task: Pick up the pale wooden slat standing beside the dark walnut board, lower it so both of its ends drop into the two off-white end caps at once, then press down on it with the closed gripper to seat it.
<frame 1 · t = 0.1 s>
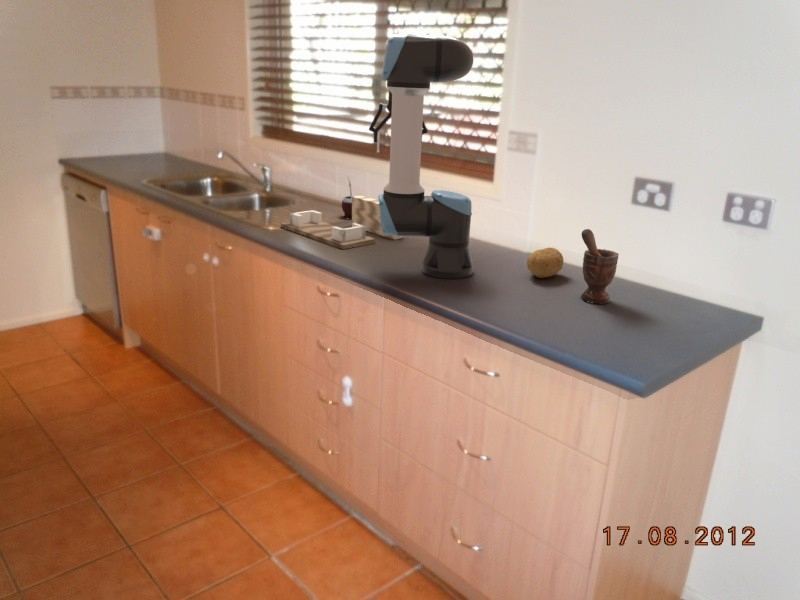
hand: (397, 153, 233), 28 cm above the worktop, tool pointing down, fingers open, 13 cm apart
mortar and pestle: (591, 302, 177), on the worktop
slat: (376, 232, 240), on the worktop
potato: (542, 277, 196), on the worktop
walnut board: (326, 235, 232), on the worktop
mate gourd: (350, 218, 259), on the worktop
end caps: (326, 225, 231), on the walnut board, point 4 cm above the worktop
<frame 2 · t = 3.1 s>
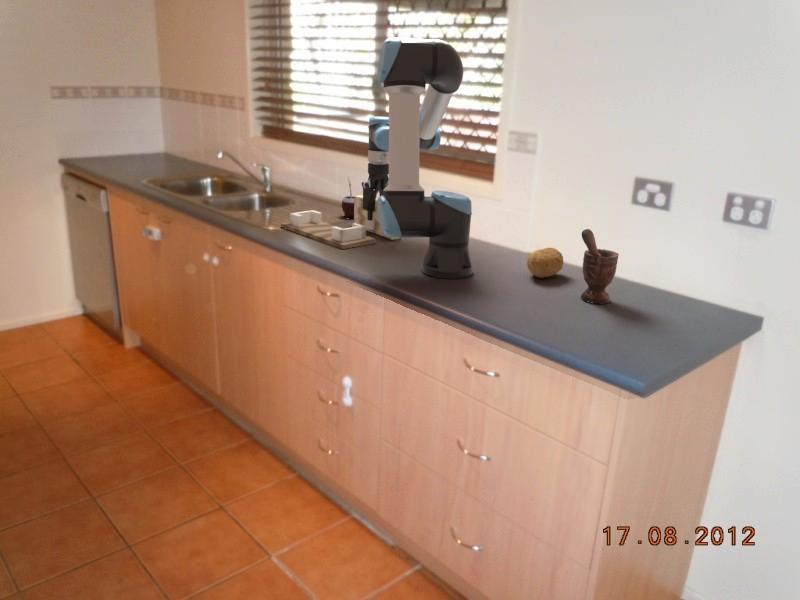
hand: (376, 228, 239), 1 cm above the worktop, tool pointing down, fingers closed on slat, 4 cm apart
slat: (376, 231, 240), on the worktop, touching gripper
everything else where it was.
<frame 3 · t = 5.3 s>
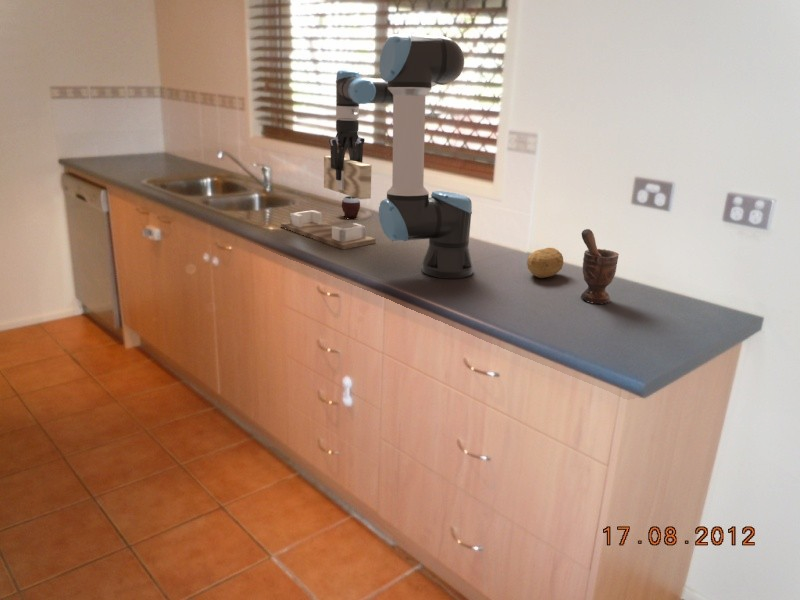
hand: (346, 188, 230), 16 cm above the worktop, tool pointing down, fingers closed on slat, 4 cm apart
slat: (346, 192, 230), point 15 cm above the worktop, touching gripper
everything else where it was.
when the fingers open (4 cm above the worktop, at t = 7.9 s): slat drops 1 cm, resting on walnut board.
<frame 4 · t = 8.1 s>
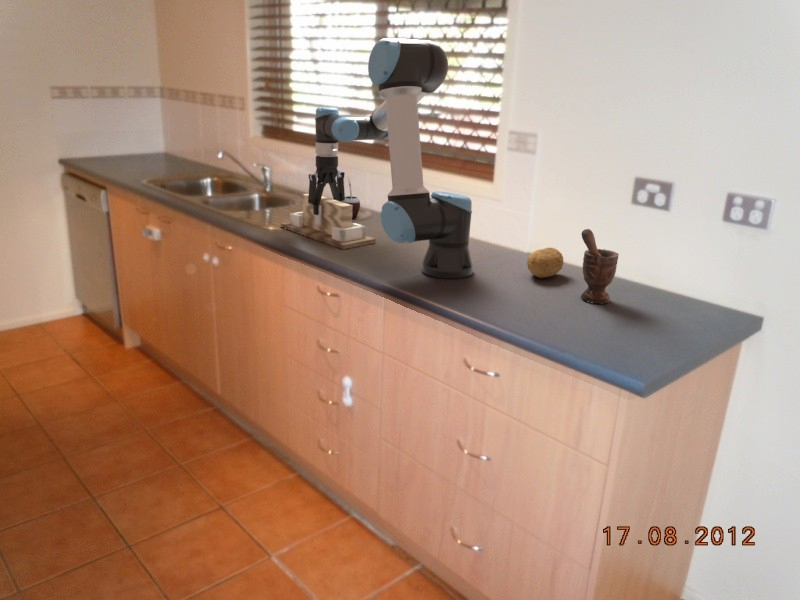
hand: (326, 222, 230), 4 cm above the worktop, tool pointing down, fingers open, 7 cm apart
slat: (326, 230, 231), point 1 cm above the worktop, touching walnut board
everything else where it was.
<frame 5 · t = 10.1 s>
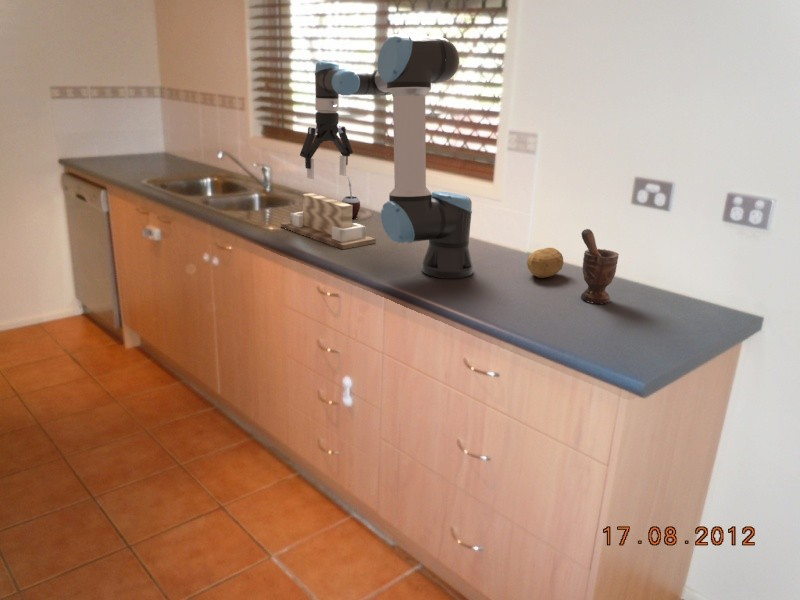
hand: (326, 176, 225), 20 cm above the worktop, tool pointing down, fingers open, 13 cm apart
nothing on the worktop moved.
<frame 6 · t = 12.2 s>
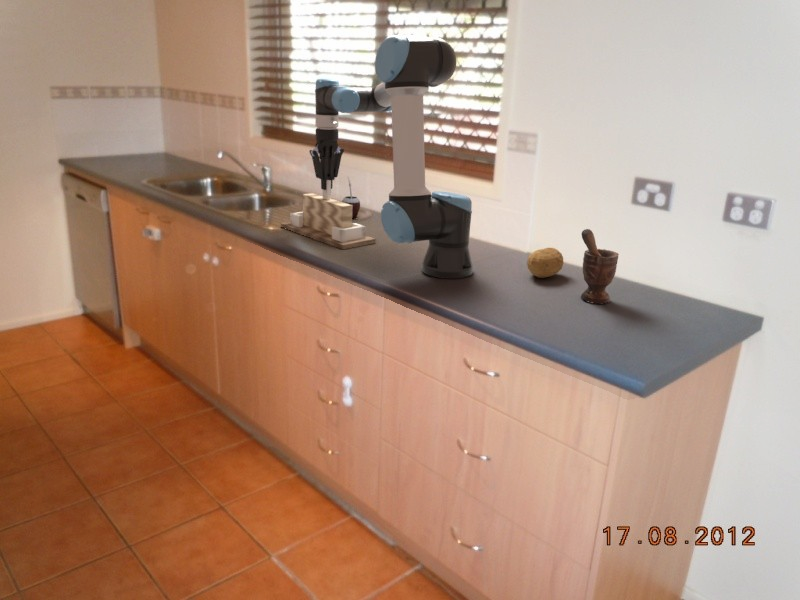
hand: (326, 198, 228), 13 cm above the worktop, tool pointing down, fingers closed
slat: (326, 230, 231), point 1 cm above the worktop, touching gripper, walnut board
everything else where it was.
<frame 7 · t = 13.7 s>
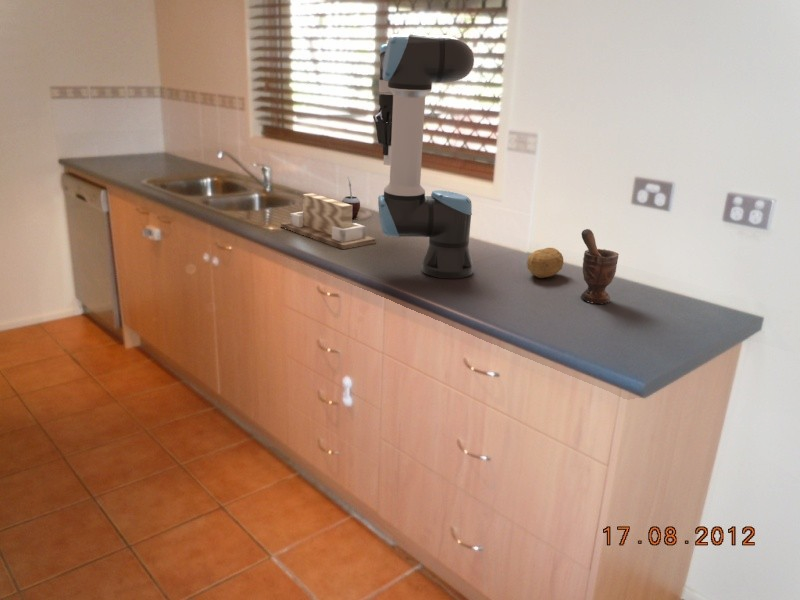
hand: (387, 164, 231), 24 cm above the worktop, tool pointing down, fingers closed
slat: (326, 230, 231), point 1 cm above the worktop, touching walnut board
everything else where it was.
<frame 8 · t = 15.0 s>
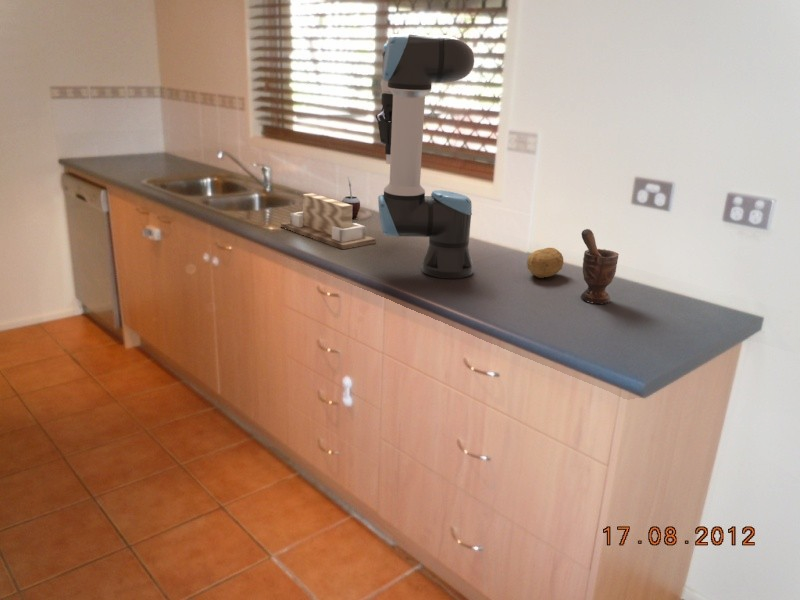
hand: (390, 163, 231), 24 cm above the worktop, tool pointing down, fingers closed
nothing on the worktop moved.
at the end: slat 0.1 cm off-centre on the end caps, point 1.5 cm above the end caps's base; slat tilted 0°; the gripper is holding nothing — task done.
